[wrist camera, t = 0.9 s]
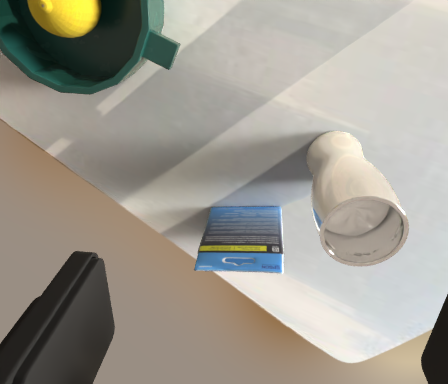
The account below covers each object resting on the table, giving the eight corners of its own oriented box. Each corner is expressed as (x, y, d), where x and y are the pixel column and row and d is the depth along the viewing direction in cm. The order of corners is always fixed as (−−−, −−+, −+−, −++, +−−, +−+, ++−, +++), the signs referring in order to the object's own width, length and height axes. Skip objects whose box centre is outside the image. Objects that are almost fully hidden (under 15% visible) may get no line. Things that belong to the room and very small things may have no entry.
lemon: (100, 44, 38) (62, 56, 31) (51, 11, 37) (0, 16, 30) (122, -8, 35) (86, -7, 28) (70, -44, 34) (19, -52, 27)
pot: (-6, -148, 32) (-53, -171, 27) (214, -30, 34) (205, -33, 29) (-24, 29, 39) (-63, 35, 34) (158, 116, 41) (144, 132, 37)
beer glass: (292, 171, 43) (302, 251, 30) (319, 117, 39) (344, 180, 26) (347, 192, 43) (380, 279, 30) (378, 140, 40) (431, 213, 27)
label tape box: (213, 230, 48) (196, 300, 37) (210, 203, 46) (192, 268, 35) (281, 230, 47) (285, 302, 36) (281, 203, 45) (285, 270, 34)
